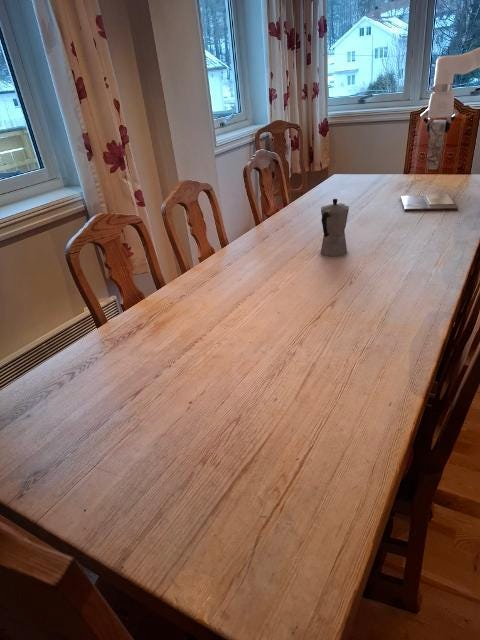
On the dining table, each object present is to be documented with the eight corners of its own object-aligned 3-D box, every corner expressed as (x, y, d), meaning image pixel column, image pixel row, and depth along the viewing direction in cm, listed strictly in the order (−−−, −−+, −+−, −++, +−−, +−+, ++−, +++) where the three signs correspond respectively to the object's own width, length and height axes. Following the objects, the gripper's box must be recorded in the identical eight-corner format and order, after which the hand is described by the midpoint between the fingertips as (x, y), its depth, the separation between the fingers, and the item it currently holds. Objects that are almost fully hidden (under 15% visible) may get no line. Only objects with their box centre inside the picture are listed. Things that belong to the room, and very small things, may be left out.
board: (448, 196, 188) (449, 194, 188) (457, 210, 172) (458, 207, 171) (400, 198, 193) (400, 195, 192) (404, 211, 176) (404, 208, 176)
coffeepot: (329, 243, 153) (330, 192, 144) (354, 246, 148) (357, 194, 139) (309, 258, 143) (309, 205, 134) (335, 263, 138) (337, 207, 129)
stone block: (441, 169, 197) (447, 122, 187) (424, 170, 199) (429, 123, 189) (441, 163, 207) (446, 118, 197) (425, 164, 210) (430, 119, 200)
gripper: (422, 91, 186) (417, 135, 195) (466, 87, 181) (459, 132, 190) (420, 90, 192) (416, 133, 201) (462, 86, 188) (456, 130, 197)
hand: (437, 132), depth 196 cm, fingers closed on stone block, 6 cm apart
